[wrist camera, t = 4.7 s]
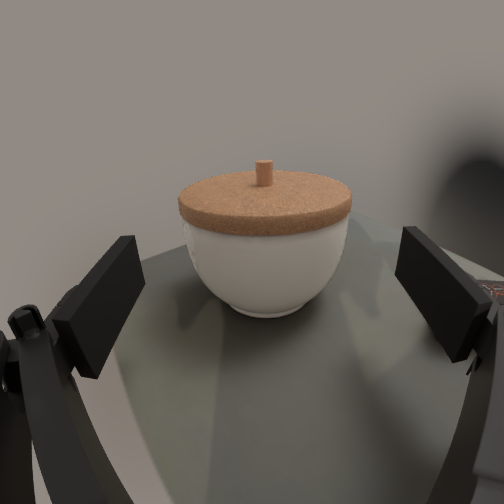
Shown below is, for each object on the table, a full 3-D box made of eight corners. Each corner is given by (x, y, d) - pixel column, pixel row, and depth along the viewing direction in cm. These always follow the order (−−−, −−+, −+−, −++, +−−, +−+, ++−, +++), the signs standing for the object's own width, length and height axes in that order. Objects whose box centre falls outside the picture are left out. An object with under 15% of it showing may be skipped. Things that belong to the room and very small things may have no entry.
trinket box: (231, 367, 16) (212, 194, 11) (176, 278, 24) (158, 163, 20) (371, 304, 20) (390, 169, 16) (287, 247, 28) (287, 146, 24)
